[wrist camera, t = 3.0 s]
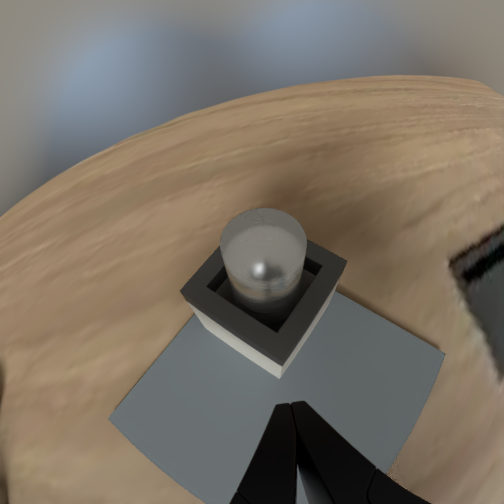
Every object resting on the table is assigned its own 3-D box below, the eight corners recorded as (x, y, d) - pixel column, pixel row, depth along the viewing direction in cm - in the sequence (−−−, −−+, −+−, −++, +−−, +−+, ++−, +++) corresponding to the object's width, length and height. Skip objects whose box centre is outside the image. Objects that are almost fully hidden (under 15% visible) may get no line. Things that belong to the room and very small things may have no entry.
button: (309, 286, 18) (321, 230, 13) (274, 336, 17) (275, 296, 12) (258, 257, 20) (253, 196, 15) (222, 302, 18) (202, 251, 13)
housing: (327, 305, 22) (347, 260, 16) (279, 378, 19) (283, 362, 13) (256, 264, 25) (251, 210, 19) (205, 328, 22) (179, 290, 16)
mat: (439, 356, 19) (445, 353, 19) (312, 552, 11) (314, 557, 10) (253, 250, 27) (252, 244, 26) (113, 419, 18) (107, 418, 18)
